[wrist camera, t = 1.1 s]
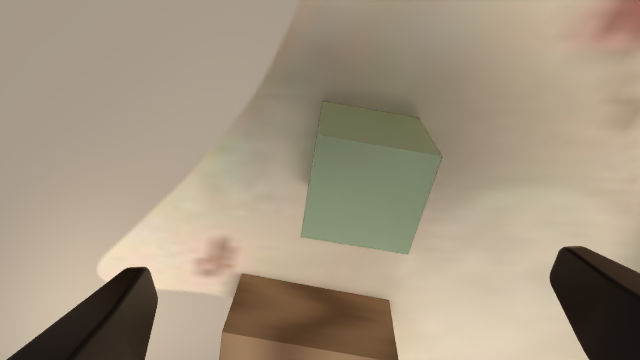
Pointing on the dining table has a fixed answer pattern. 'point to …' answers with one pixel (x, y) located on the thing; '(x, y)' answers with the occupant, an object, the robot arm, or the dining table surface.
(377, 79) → the dining table surface
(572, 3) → the dining table surface
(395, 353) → the walnut block
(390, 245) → the sage cube
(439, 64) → the dining table surface
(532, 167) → the dining table surface
